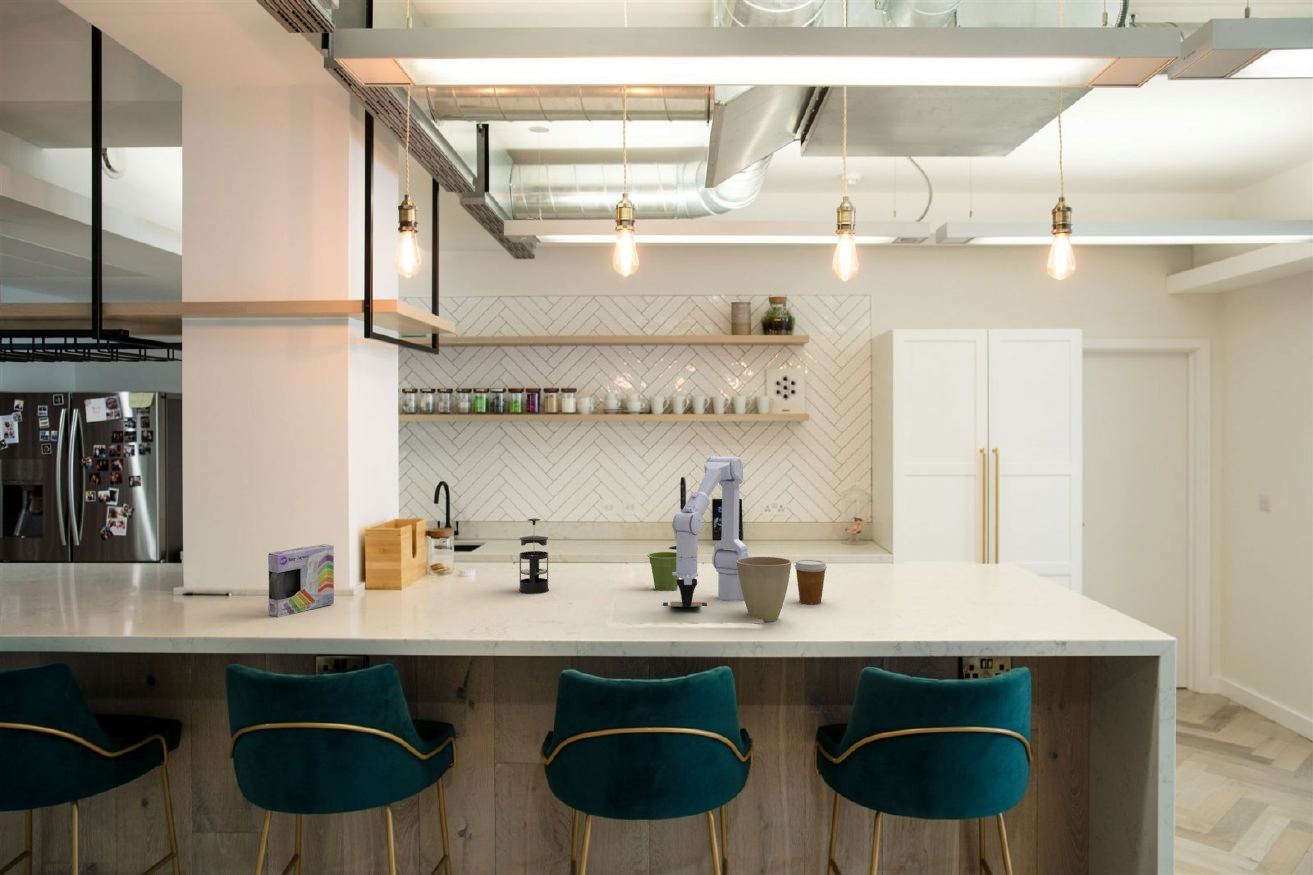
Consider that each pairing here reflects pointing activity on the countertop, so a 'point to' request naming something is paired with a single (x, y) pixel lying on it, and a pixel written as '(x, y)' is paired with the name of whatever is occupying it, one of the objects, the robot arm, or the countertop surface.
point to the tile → (679, 604)
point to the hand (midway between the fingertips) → (686, 606)
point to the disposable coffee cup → (810, 580)
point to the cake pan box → (300, 579)
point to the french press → (534, 565)
